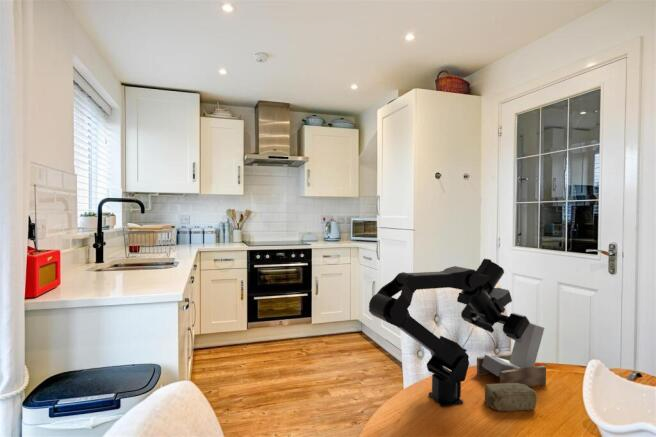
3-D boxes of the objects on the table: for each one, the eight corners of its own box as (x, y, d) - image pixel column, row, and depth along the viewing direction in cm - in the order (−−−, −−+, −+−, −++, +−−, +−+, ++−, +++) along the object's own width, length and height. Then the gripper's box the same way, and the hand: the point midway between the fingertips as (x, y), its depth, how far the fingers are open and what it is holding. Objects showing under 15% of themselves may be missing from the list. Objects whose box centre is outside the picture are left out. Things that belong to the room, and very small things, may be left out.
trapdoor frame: (502, 390, 99) (502, 372, 99) (476, 373, 109) (476, 357, 109) (545, 384, 103) (546, 366, 103) (517, 368, 113) (517, 352, 113)
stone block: (538, 411, 89) (538, 391, 89) (494, 414, 88) (494, 393, 88) (523, 399, 95) (523, 380, 95) (481, 401, 94) (481, 382, 94)
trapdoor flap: (499, 377, 100) (503, 364, 101) (480, 365, 108) (483, 353, 108) (538, 386, 104) (541, 374, 104) (516, 374, 112) (520, 362, 112)
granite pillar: (523, 368, 104) (535, 325, 105) (509, 361, 108) (520, 320, 109) (532, 370, 106) (544, 327, 107) (518, 363, 110) (530, 322, 111)
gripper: (526, 286, 93) (551, 323, 98) (468, 274, 110) (493, 307, 115) (504, 319, 90) (531, 356, 95) (448, 302, 106) (474, 334, 111)
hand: (506, 336), depth 104 cm, fingers open, 9 cm apart
